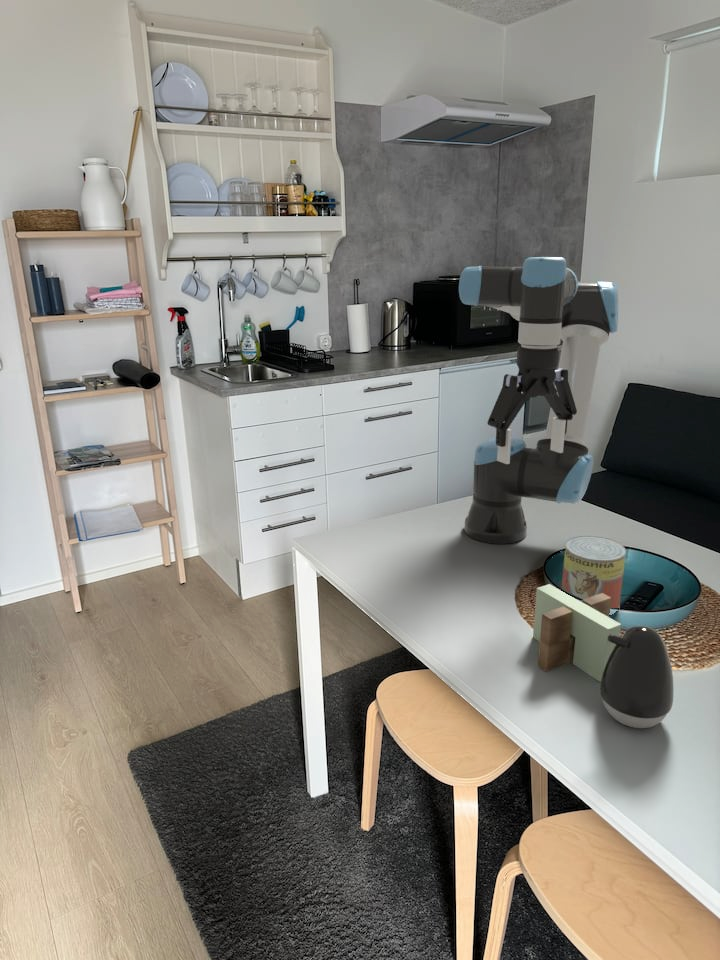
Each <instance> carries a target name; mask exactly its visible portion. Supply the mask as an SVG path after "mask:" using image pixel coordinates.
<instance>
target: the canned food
mask: <svg viewBox="0 0 720 960" xmlns="http://www.w3.org/2000/svg"><path fill="white" fill-rule="evenodd" d="M563 556H564V559H563V567H562V568H563V569H562V578H561V579H562V580H561V588H563V589H565V590H566V591H568V592H570V593H572V594H573V595H575V596H577V597H579V598H581V599H586V598H589V597H592V596H595V595H598V594H601V593H603V594H605V595H607V596H609V597H611V605H610V608H619V609H620V608H621V605H620V601H621V594H622V586H623V579H624V573H625V571H624V570H625V562H626V556H627V549H626V548H625V547H624V546H623V544H621V543H620V542H617V541H616V540H613V539H610V538H607V537H601V536H597V535H596V536H595V535H582V536H580V535H579V536H575V537H571V538H570V539H568V540H566V541H565V543H564V555H563Z"/></svg>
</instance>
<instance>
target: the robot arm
mask: <svg viewBox="0 0 720 960" xmlns="http://www.w3.org/2000/svg"><path fill="white" fill-rule="evenodd" d="M618 291H619V290H618V287H617V285H616V284H615V283H614V282H611V281H599V280H596V281H595V280H594V281H593V280H592V281H588V280H587V281H583V280H582V281H579V280H578V277H577V275H576V274H575V272H574V271H573V270H572V269H570V268H568V267H567V261H566V259H565V257H561V256H559V257H558V256H540V257H539V256H537V257H536V256H535V257H533V256H532V257H531V256H530V257H528V258H525V260H524V261H523V264H522V266H482V265H478V266H467V267H465V268H464V269H463V270H462V272H461V273H460V276H459V282H458V294H459V296H458V297H459V299H460V301H461V303H462V304H464V305H466V306H467V305H468V306H474V307H477V306H478V307H479V306H482V307H483V306H485V307H488V308H492V309H496V310H499V311H502V312H505V313H508V314H509V315H510V316H511V317H512V318H513V319H515V321H518V336H517V337H518V339H517V342H518V343H519V344H520V345H518V347H516V348H517V351H516V365H517V368H518V372H517V375H513V374H508V373H507V374H505V375H504V376H503V380H502V387H501V389H500V392H499V394H498V396H497V399H496V400H495V404H494V405H493V408H492V410H491V412H490V415H489V418H488V420H487V426H490V427H493V428H495V429H496V431H495V432H496V434H495V438H493V439H488V440H485V441H483V442H481V443H479V444H478V445H477V446H476V447H475V453H474V460H473V486H472V488H473V489H472V503H471V505H470V507H469V511H468V513H467V516H466V517H465V519H464V525H463V526H464V533H465V534H466V535H467V536H468V537H470V538H472V539H473V540H476V541H479V542H482V543H487V544H497V545H500V544H504V545H505V544H513V543H516V542H519V541H522V540H524V538H526V536H527V533H528V532H527V530H528V525H527V521H526V518H525V514H524V510H523V505H522V498H528V499H534V500H539V501H540V500H541V501H547V502H555V503H557V504H561V503H562V504H563V503H564V504H571V505H574V504H577V503H579V502H580V501H581V500H582V499H583V497H584V495H586V491H587V489H588V485H589V483H590V481H591V477H592V473H593V472H592V471H593V467H594V457H593V456H592V455H591V454H589V450H590V449H589V446H588V445H587V444H586V443H585V441H584V438H585V433H586V428H587V421H588V416H589V412H590V411H589V409H590V405H591V400H592V399H591V398H592V394H593V387H594V382H595V376H596V371H597V366H598V360H599V354H600V348H601V346H603V345H604V344H605V343H607V342H608V341H609V337H610V334H614V333H616V332H617V331H618V326H619V294H618ZM561 340H562V347H561V349H560V348H559V347H558V346H559V345H560V344H561ZM560 350H561V352H560ZM553 383H554V384H553ZM538 396H539V397H544V398H545V400H546V401H547V403H548V405H549V406H550V409H549V414H548V415H549V416H548V419H547V420H548V421H547V426H546V431H545V435H543V436H542V437H540V438H539V439H538V440H537V443H536V447H535V448H533V447H532V448H531V447H527V443H526V441H525V440H523V439H520V438H516V437H512V431H513V430H512V429H510V428H509V427H510V426H511V425H512V423H513V422H514V420H515V419H516V417H517V416H518V414H519V413H520V411H521V409H522V408H523V407H524V405H525V403H526V402H528V401H530V399H531V398H536V397H538Z"/></svg>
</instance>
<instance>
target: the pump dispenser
mask: <svg viewBox="0 0 720 960" xmlns="http://www.w3.org/2000/svg"><path fill="white" fill-rule="evenodd" d="M608 641H609V642H612V643H614V644H616V645H615V647H614V648H613V650H612V652H611V654H610V656H609V658H608V660H607V663H606V665H605V668H604V671H603V675H602V678H601V682H599V693H600V697H601V698H602V702H603V703H602V704H603V705H604V707H605V710H606V711H607V712H608V714H609V715H610V716H611V717H612V718H613V719H614V720H616V721H617V722H619V723H621V724H622V725H624V726H628V727H630V728H635V729H648V728H652V727H655V726H657V725H658V724H660V723H661V722H662V721H663V720H664V719H665V718H666V716H667V714H669V712H670V711H671V710H672V707H673V703H674V691H675V690H674V688H675V687H674V675H673V669H672V664H671V662H672V661H671V659H670V656H669V652H668V649H667V646H666V644H665V641H664V639H663V637H662V636H661V635H660V634H659V632H657V630H655V629H654V628H651V627H649V626H647V625H636V626H632V627H630V628H629V629H628V630H626V631H625V632H624V633H623V634H622V635H620V636H615V635H609V636H608Z"/></svg>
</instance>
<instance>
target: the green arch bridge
mask: <svg viewBox="0 0 720 960" xmlns="http://www.w3.org/2000/svg"><path fill="white" fill-rule="evenodd" d="M535 594H536V595H535V609H534V621H533V630H532V631H533V633H532V638H533V639H535V640H536V641H538V642H539V643H540V634H541V622H542V614H543V613H546V612H549V611H552V610H555V609H557V608H560V607H563V606H564V607H566V608H567V609H569V610H571V611H572V621H571V631H570V634H571V635H573V636H574V637H576V638H575V647H574V657H573V661H572V665H574V666H575V667H576V668H578V669H579V670H582V671H583V672H584V673H585V674H587V675H589V676H590V677H592V678H593V679H595V680H596V681H598V682H599V683H600V682H601V678H602V675H603V671H604V668H605V665H606V663H607V660H608V658H609V656H610V654H611V652H612V650H613V648H614V647H615V645H616V644H614V643H612V642H609V641H608V636H609V635H615V636H620V637H621V630H622V623H620V622H618V621H616V620H614V619H613V618H611V617H610V616H609V617H608V616H606V615H604V614H602V613H600V612H599V611H597V610H595V609H593V608H591V607H590V606H588V605H586V604H584V603H583V602H581V601H579V600H577V599H575V598H574V597H572V596H570V595H568V594H566V593H565V592H563V591H561V589H559V588H557V587H556V586H554V585H552V584H550V583H548V584H545V585H542V586H539V587H536V593H535Z"/></svg>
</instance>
